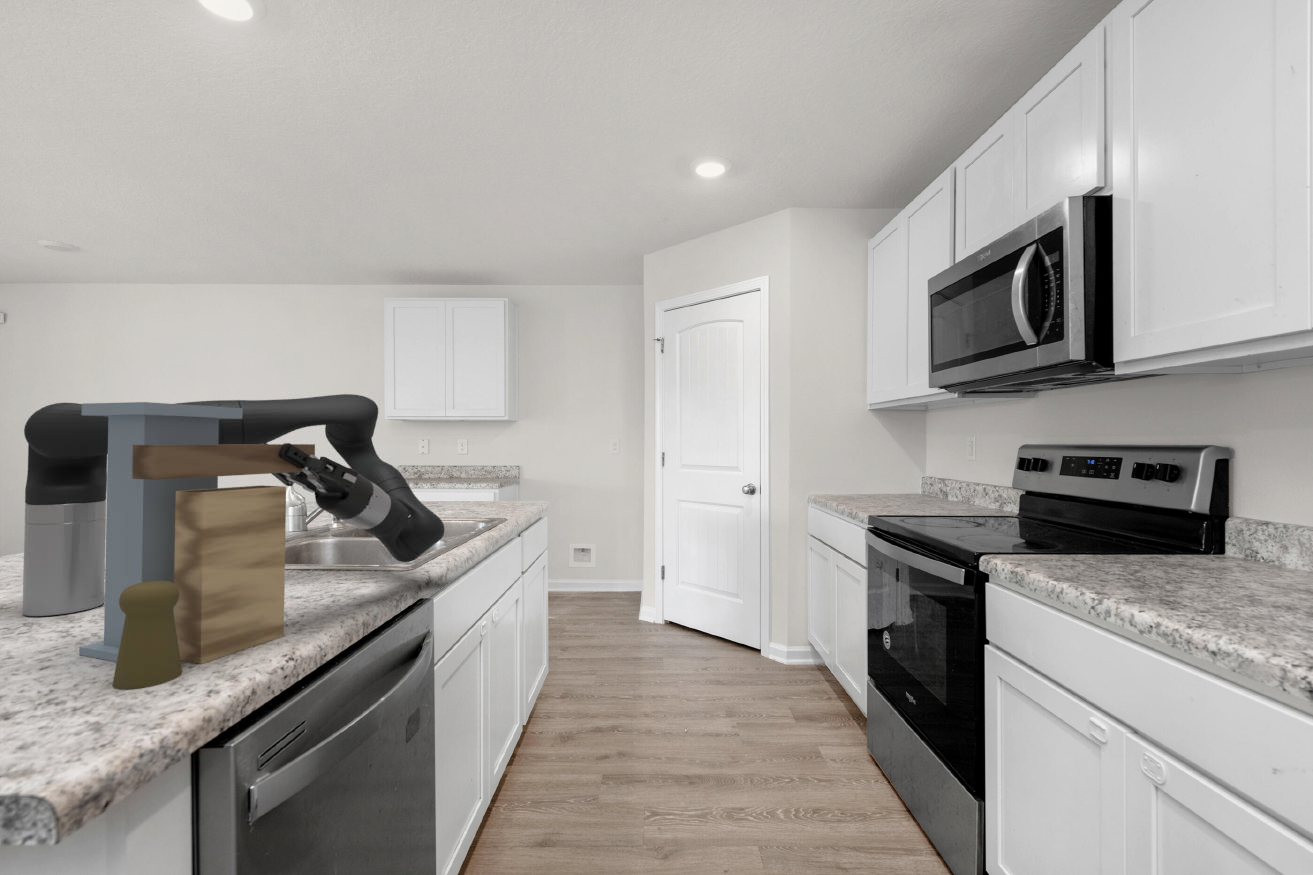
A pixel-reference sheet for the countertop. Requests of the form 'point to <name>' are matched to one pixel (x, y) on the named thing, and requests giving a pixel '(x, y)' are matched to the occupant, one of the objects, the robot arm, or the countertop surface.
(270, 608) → the oak post
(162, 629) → the cork
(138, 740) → the countertop surface
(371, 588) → the countertop surface
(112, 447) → the blue grey stand
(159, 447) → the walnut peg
